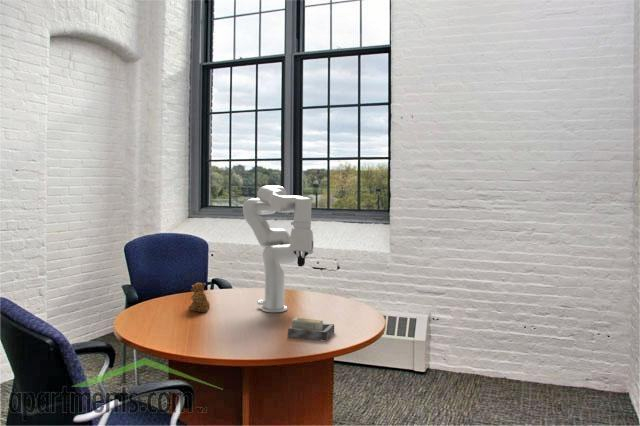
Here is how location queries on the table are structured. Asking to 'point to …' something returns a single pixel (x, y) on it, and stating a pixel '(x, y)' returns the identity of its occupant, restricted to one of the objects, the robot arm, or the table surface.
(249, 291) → the table surface
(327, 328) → the u rest
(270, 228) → the robot arm
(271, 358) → the table surface
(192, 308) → the brown teddy bear
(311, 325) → the skincare box
